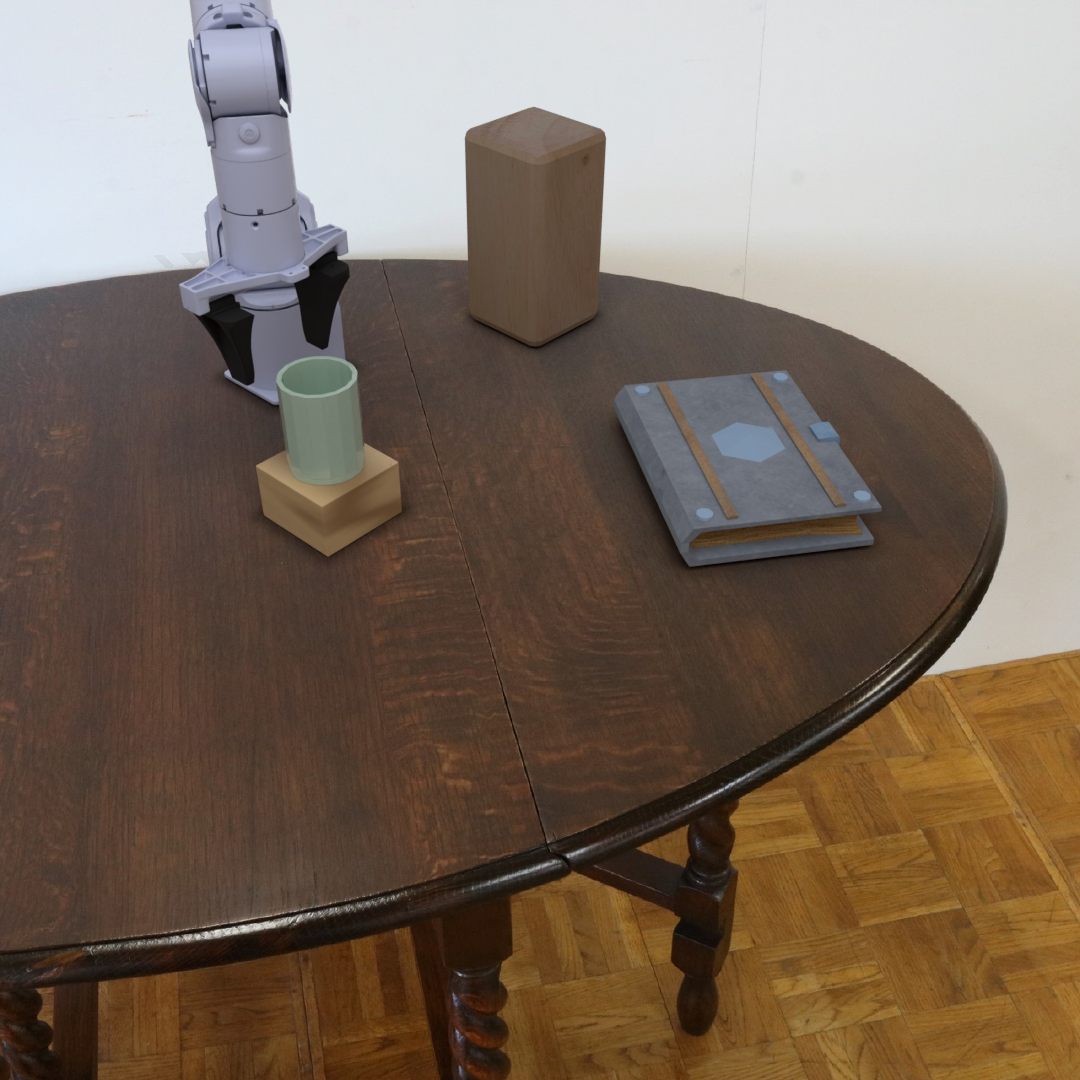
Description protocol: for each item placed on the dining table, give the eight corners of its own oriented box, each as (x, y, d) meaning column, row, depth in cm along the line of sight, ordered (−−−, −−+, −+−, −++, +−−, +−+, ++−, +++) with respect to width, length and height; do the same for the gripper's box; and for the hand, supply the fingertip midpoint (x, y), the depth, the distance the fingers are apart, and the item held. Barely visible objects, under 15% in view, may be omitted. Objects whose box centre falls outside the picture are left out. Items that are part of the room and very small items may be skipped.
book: (612, 425, 108) (615, 377, 105) (783, 408, 111) (791, 361, 108) (678, 572, 92) (683, 521, 89) (876, 548, 95) (889, 498, 92)
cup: (331, 433, 97) (321, 347, 92) (381, 462, 94) (373, 375, 89) (273, 464, 94) (259, 377, 89) (322, 495, 91) (311, 406, 86)
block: (338, 473, 101) (332, 424, 98) (402, 511, 97) (399, 461, 94) (263, 515, 97) (255, 465, 94) (328, 557, 93) (321, 506, 90)
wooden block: (601, 318, 124) (611, 127, 111) (535, 353, 118) (538, 155, 105) (531, 287, 129) (533, 101, 116) (465, 319, 123) (460, 127, 111)
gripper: (210, 247, 81) (239, 416, 89) (368, 186, 90) (381, 345, 98) (150, 218, 84) (183, 383, 93) (307, 162, 93) (324, 318, 102)
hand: (281, 362), depth 96 cm, fingers open, 7 cm apart
